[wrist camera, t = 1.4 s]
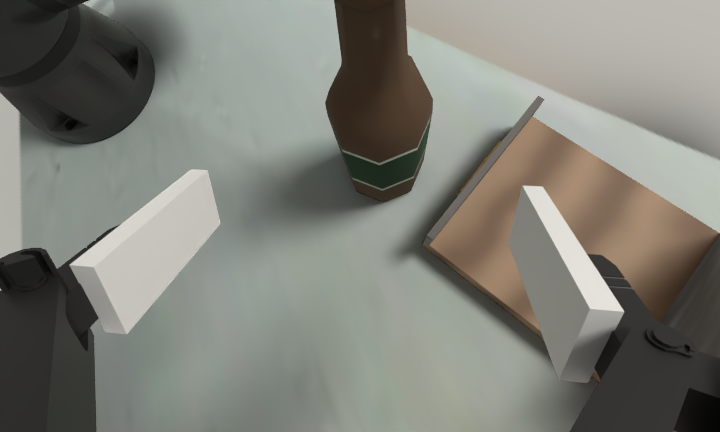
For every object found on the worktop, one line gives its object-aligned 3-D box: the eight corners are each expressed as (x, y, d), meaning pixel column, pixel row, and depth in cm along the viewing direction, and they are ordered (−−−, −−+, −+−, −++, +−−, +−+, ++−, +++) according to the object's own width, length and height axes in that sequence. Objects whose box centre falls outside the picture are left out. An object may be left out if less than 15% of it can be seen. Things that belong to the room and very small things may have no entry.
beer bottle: (331, 168, 38) (233, -39, 15) (384, 119, 39) (366, -150, 16) (384, 219, 37) (363, 71, 13) (438, 166, 37) (506, -60, 14)
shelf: (420, 244, 36) (435, 204, 22) (516, 124, 38) (587, 16, 24) (611, 392, 31) (786, 462, 17) (709, 246, 33) (938, 203, 19)
